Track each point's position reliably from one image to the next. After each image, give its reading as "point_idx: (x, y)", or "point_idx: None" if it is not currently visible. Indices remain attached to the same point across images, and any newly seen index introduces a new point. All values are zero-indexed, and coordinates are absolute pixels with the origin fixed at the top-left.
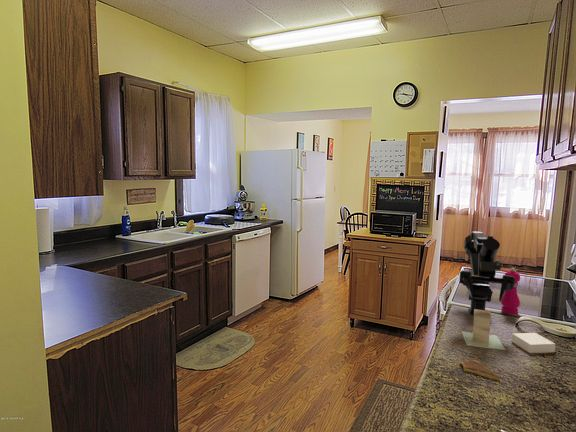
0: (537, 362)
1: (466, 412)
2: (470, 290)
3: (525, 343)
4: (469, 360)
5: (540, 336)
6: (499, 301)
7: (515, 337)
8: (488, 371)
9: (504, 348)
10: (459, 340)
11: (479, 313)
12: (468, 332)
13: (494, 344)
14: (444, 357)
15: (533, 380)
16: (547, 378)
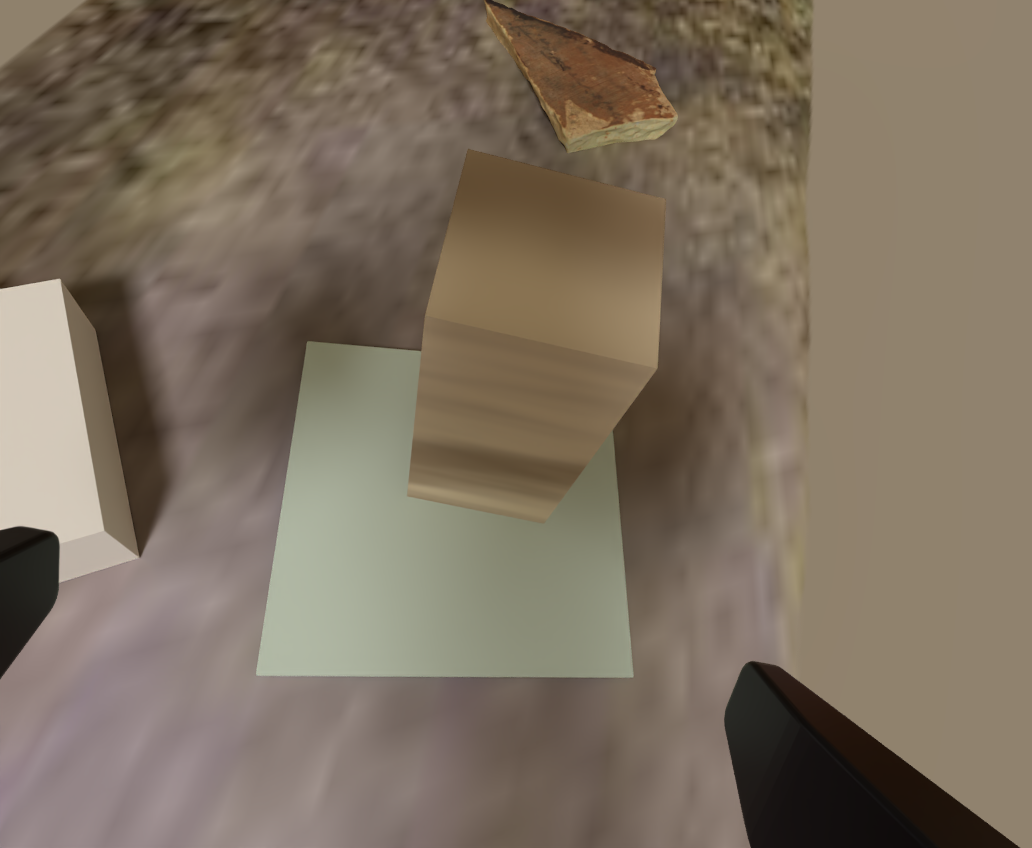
0: (133, 199)
1: None
2: (934, 792)
3: (79, 347)
4: (624, 116)
5: None
6: (56, 586)
7: (103, 484)
8: (535, 39)
9: (306, 357)
10: (657, 458)
11: (603, 202)
12: (563, 665)
13: (370, 418)
14: (749, 191)
15: (300, 25)
16: (198, 42)
